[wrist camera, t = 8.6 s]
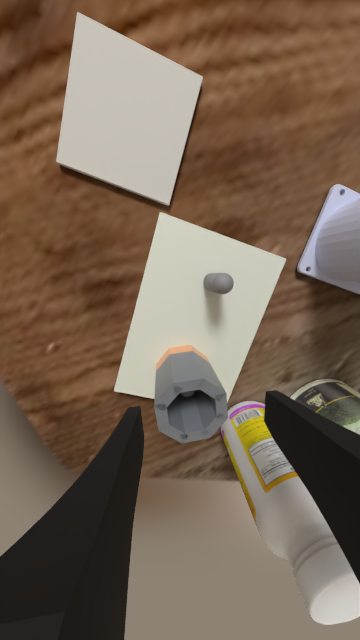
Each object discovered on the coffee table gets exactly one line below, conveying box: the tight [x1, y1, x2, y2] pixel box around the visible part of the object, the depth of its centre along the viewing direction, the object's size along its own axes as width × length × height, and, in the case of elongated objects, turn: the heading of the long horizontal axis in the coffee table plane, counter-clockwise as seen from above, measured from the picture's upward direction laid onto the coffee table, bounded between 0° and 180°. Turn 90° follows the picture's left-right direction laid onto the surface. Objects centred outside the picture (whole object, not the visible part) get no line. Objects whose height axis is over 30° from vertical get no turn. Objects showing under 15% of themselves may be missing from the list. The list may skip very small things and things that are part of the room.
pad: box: [56, 12, 203, 206], centre depth 14 cm, size 9×9×1 cm
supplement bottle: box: [221, 401, 360, 625], centre depth 16 cm, size 7×7×13 cm
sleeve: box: [154, 345, 228, 443], centre depth 16 cm, size 5×5×6 cm
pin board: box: [114, 212, 286, 402], centre depth 16 cm, size 12×17×5 cm
